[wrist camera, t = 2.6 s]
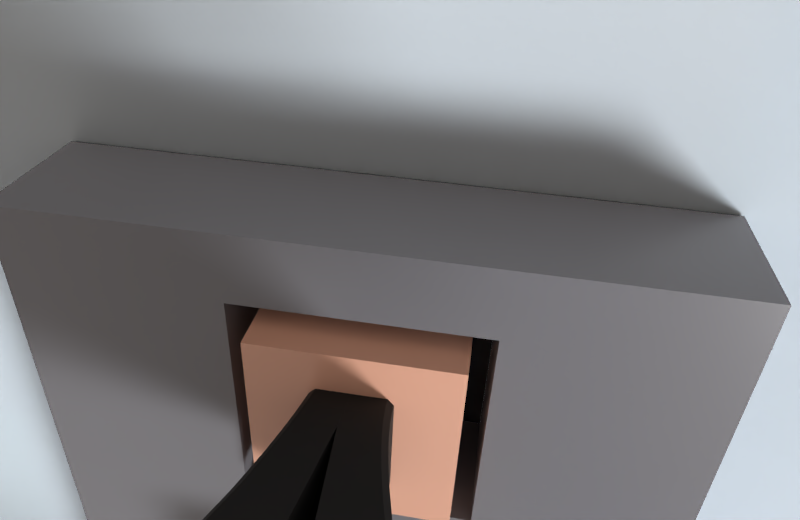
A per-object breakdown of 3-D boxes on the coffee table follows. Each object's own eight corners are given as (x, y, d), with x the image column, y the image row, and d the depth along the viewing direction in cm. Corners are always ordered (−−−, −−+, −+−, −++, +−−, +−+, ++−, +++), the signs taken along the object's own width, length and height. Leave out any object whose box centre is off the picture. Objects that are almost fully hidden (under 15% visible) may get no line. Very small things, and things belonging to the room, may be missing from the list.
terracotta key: (462, 411, 15) (449, 523, 12) (300, 387, 15) (257, 490, 13) (480, 272, 13) (468, 375, 10) (292, 249, 13) (240, 342, 11)
